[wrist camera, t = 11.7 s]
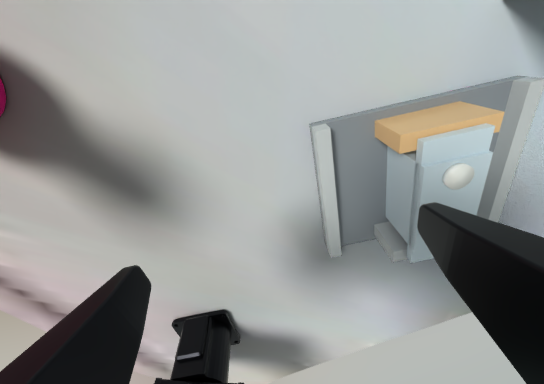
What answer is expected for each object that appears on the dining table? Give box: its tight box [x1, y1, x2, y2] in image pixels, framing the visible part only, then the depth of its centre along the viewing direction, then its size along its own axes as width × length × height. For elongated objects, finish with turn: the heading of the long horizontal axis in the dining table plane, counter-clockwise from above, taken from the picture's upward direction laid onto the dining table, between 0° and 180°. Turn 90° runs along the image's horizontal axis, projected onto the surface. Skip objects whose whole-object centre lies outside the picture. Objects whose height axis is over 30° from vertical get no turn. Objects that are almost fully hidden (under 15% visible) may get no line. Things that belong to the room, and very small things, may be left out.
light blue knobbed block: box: [386, 123, 495, 263], centre depth 18 cm, size 10×4×5 cm, turn 12°
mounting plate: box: [309, 76, 544, 262], centre depth 19 cm, size 12×15×4 cm
